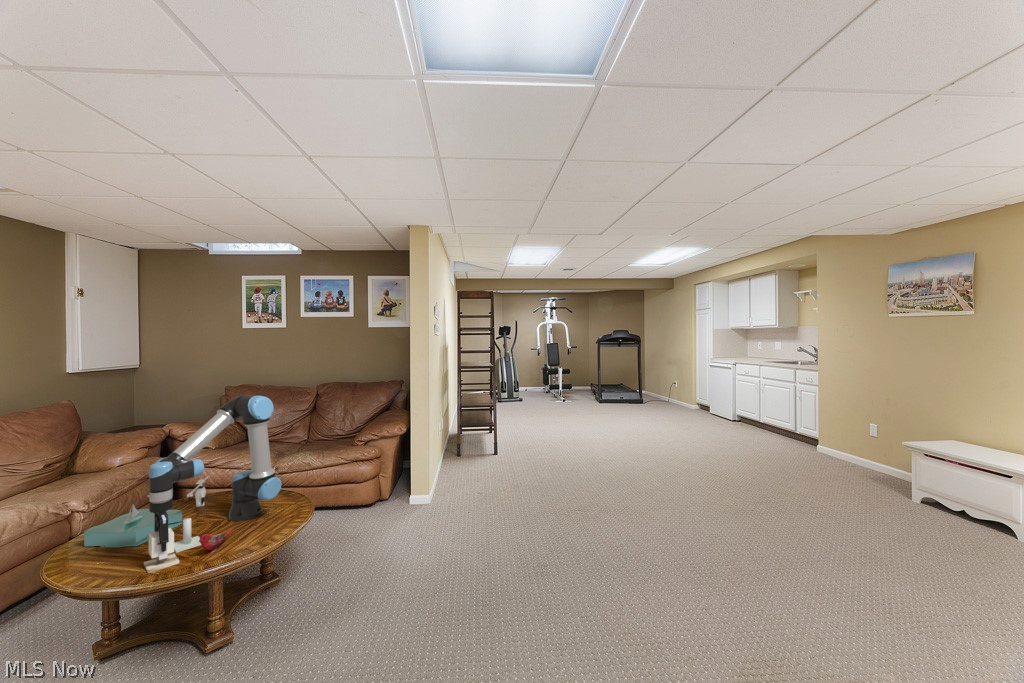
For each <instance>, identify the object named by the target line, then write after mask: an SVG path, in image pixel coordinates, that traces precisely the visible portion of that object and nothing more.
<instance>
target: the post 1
mask: <svg viewBox="0 0 1024 683" xmlns="http://www.w3.org/2000/svg"><path fill="white" fill-rule="evenodd" d="M178 564H180V559H179V558H178V556H177V555H176V553H175V552H172V553H169V554H168V558H165V559H162V560H159V557H156V558H151V559H150V560H147V561H146V560H145V561H143V566H144V568H145V570H146V573H147V574H150V573H153V572H157V571H160V570H164V569H165V568H169V567H172V566H176V565H178Z"/></svg>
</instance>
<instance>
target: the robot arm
mask: <svg viewBox="0 0 1024 683" xmlns="http://www.w3.org/2000/svg"><path fill="white" fill-rule="evenodd" d="M274 408H275V407H274V404H273V401H272V400H271V399H270V398H269V397H267V396H264V395H256V394H255V395H252V394H249V395H248V394H241V395H238V396H235V397H233V398H232V399H230V400H228V401H227V402H226V403H225V404H223V405H222V406H220V408H218V410H216V414H215V415H214V416H213V417H211V418H210V419H209V420H208V421H207V422H205V423H204V424H203V425H202V426H201V427H200V428H199V429H197V431H195V433H193V434H192V435H191V436H190V437H188V439H186V440H185V441H184V442H183V443H182V444H181V445H179V446H178V447H177V448H176V449H175V450H174V451H173V452H171V453H170V454H169V455H168V456H167V457H162V458H158V460H156V461H155V462H154V463H152V464H151V465H150V466H149V469H148V484H149V487H148V488H149V489H148V490H149V491H148V492H149V494H147V498H149V500H148V501H149V504H148V506H149V507H148V509H149V511H150V512H151V513H154V518H155V522H154V532H157V531H158V529H159V541H160V542H159V543H158V544H157V545H159V560H162V559H165V558H168V555H169V554H168V542H169V536H168V520H169V518H168V514H167V512H166V511H167V510H172V508H173V504H174V503H173V502H174V500H173V495H174V493H173V492H174V490H173V487H174V486H173V484H174V483H178V482H182V481H185V480H189V479H194V478H196V477H199V476H201V475H203V473H204V471H205V464H204V461H203V460H201V459H199V458H197V459H196V458H195V459H193V457H195V456H196V455H197V454H198V453H199V452H200V451H201V450H203V448H205V447H206V446H207V445H208V444H209V443H210V442H211V441H212V440H213V439H214V438H216V437H217V436H218V435H219V434H220V433H221V432H222V431H223V430H225V428H226V427H228V426H229V425H230V424H234V423H236V421H238V420H239V419H242V423H243V425H244V426H245V427H246V428H247V437H248V444H249V446H248V447H249V453H250V454H249V455H250V463H251V469H248V470H243V471H239V472H236V473H235V474H233V476H232V477H231V478H232V479H231V485H232V491H231V492H232V503H231V507H230V510H229V513H228V520H230V521H231V522H243V520H244V521H247V520H248V519H249V520H252V519H254V518H257V517H260V516H261V515H262V514H261V513H263V507H262V504H261V502H260V501H271V500H273V499H274V498H276V497H277V495H278V494H279V493H280V491H281V490H282V489H281V488H282V480H281V479H280V478H279V477H277V475H276V474H277V473H276V470H275V469H274V468H272V462H271V461H272V460H271V451H270V449H271V448H270V441H269V432H268V431H269V430H268V423H269V422H270V421H271V419H270V418H271V417H272V415H273V413H274ZM260 514H261V515H260Z"/></svg>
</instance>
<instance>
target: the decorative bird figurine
mask: <svg viewBox="0 0 1024 683" xmlns="http://www.w3.org/2000/svg"><path fill="white" fill-rule="evenodd" d="M233 530H235V527H233V528H232V529H229V530H228V531H227V532H226V533H217V534H212V535H211V534H209V533H204V534H202V535H201V536H199V538H200V540H199V542H200V543H201V545H200V546H202V548H203V550H206V551H210V552H208V555H210V554H213V553H214V552H216V551H217V550H218V547H219V546H220V545H221V544H222V543H223V542H224V541H225V540H226V538H227V536H228V535H230V534H231V532H232V531H233Z"/></svg>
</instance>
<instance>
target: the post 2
mask: <svg viewBox="0 0 1024 683" xmlns="http://www.w3.org/2000/svg"><path fill="white" fill-rule="evenodd" d="M199 540H200V536H199V535H197V536H194V537H192V517H186V518H184V519H182V540H179V541H174V553H175V554H177V553H181V552H183V551H186V550H189V549H192V548H196V547H199V546H202V545H201V543H200V542H199Z"/></svg>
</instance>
